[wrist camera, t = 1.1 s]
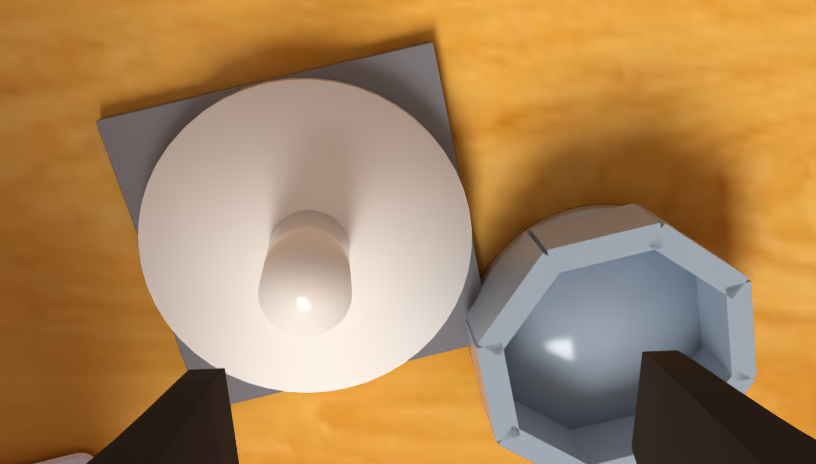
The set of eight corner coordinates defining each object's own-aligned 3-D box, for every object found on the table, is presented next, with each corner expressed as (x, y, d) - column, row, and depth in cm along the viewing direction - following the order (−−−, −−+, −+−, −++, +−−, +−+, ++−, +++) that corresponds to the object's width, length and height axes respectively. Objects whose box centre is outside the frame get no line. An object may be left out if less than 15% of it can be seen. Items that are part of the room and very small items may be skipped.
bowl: (491, 454, 27) (509, 506, 24) (445, 238, 24) (460, 271, 21) (718, 397, 27) (760, 443, 24) (700, 177, 24) (745, 201, 21)
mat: (204, 404, 25) (202, 411, 24) (99, 118, 21) (95, 121, 21) (489, 334, 25) (492, 340, 25) (431, 41, 22) (433, 42, 21)
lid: (202, 410, 24) (176, 495, 20) (96, 120, 21) (40, 154, 17) (492, 340, 25) (524, 410, 21) (433, 42, 21) (457, 57, 17)
